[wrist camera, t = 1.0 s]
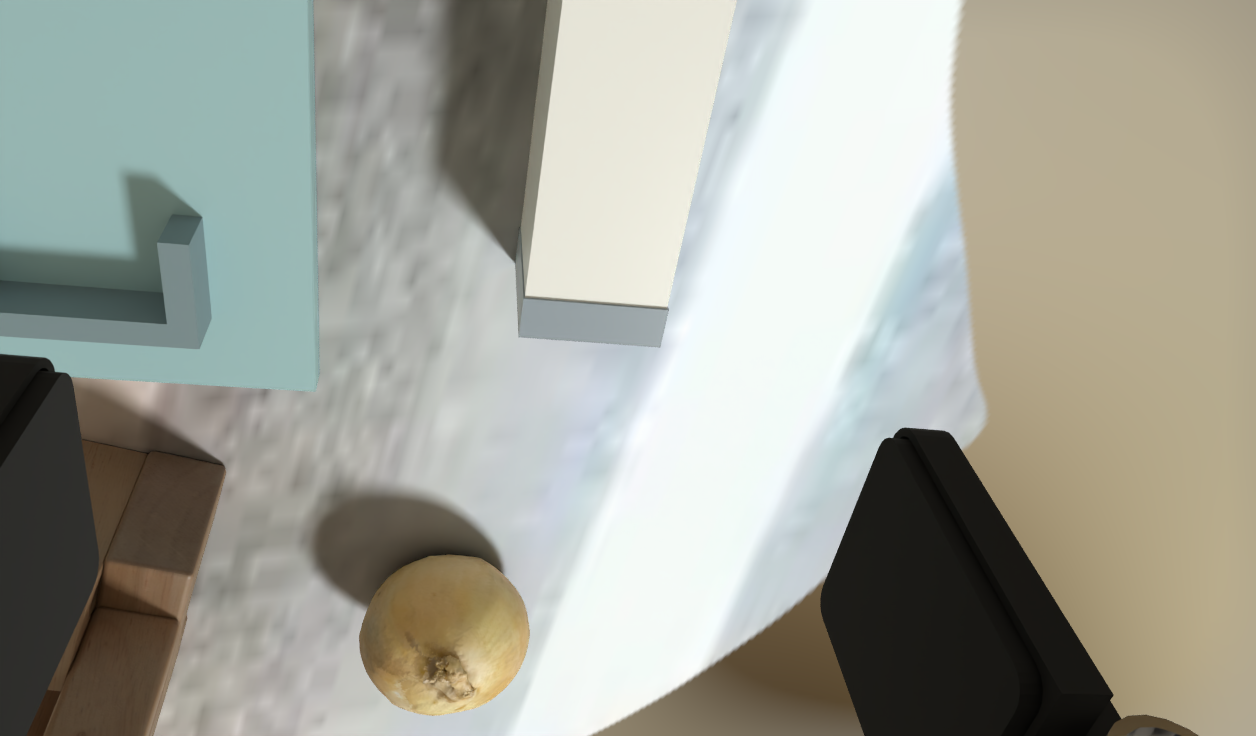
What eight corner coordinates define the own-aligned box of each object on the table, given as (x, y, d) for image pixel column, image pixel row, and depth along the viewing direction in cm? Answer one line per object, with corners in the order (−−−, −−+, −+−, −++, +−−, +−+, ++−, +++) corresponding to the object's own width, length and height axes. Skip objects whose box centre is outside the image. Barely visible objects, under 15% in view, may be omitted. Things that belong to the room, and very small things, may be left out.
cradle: (-386, -467, 24) (-492, -479, 21) (307, -332, 27) (288, -328, 24) (-118, 346, 37) (-162, 398, 35) (319, 373, 40) (308, 423, 38)
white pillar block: (560, -127, 30) (572, -90, 26) (718, -101, 31) (753, -62, 27) (515, 262, 38) (518, 337, 34) (642, 274, 39) (660, 347, 35)
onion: (555, 603, 51) (563, 724, 45) (421, 657, 52) (414, 781, 47) (477, 508, 46) (475, 630, 41) (333, 569, 48) (312, 696, 42)
